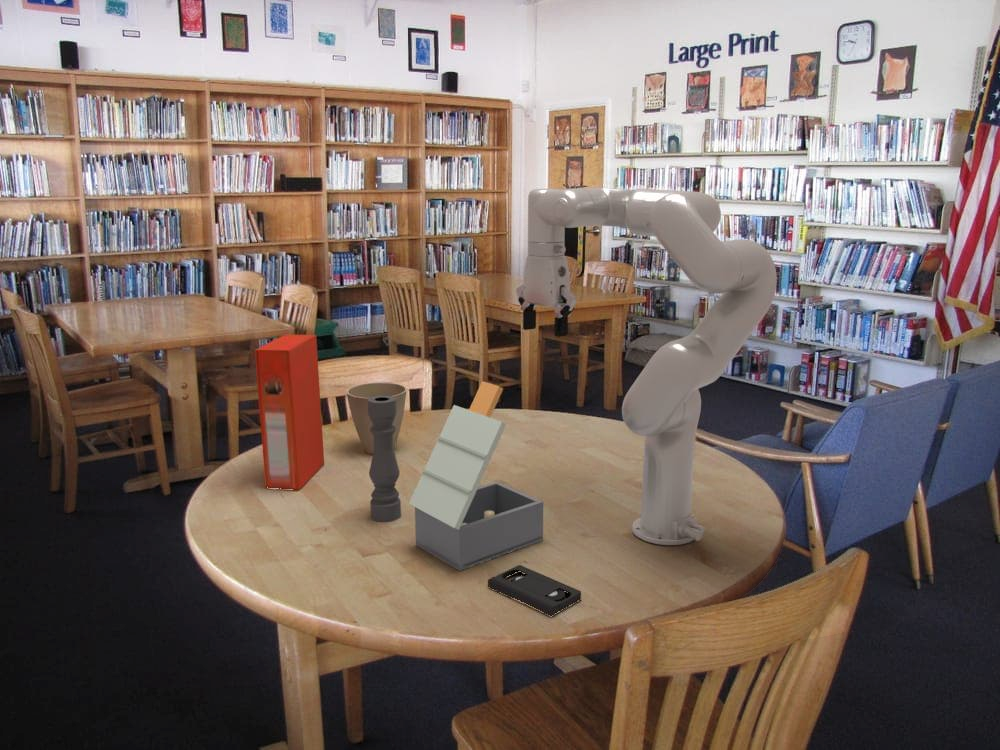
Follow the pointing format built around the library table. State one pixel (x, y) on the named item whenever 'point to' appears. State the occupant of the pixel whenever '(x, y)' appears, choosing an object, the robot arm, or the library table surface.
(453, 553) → the tub
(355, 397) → the plant pot
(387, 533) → the library table surface
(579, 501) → the library table surface
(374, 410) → the candle holder
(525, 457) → the library table surface
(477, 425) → the lid
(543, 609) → the vhs tape
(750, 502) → the library table surface
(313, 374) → the file binder
